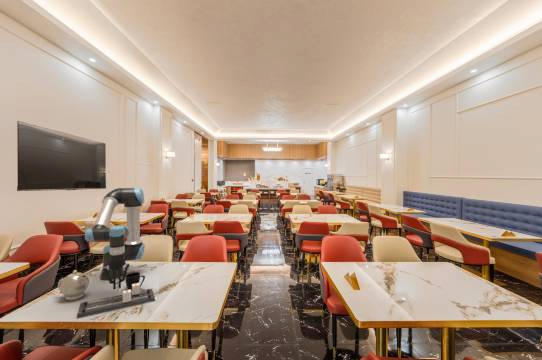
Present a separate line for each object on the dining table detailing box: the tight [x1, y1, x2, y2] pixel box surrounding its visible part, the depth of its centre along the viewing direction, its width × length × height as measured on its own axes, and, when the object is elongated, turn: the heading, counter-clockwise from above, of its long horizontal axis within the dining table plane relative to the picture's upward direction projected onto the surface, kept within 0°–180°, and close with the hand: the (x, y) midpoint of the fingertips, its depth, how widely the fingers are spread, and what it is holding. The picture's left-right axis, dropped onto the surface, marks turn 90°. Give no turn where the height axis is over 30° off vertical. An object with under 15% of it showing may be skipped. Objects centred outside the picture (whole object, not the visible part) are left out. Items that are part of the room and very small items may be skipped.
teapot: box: [57, 269, 90, 301], centre depth 150 cm, size 18×14×16 cm
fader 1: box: [122, 289, 132, 303], centre depth 140 cm, size 4×4×5 cm
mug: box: [124, 271, 146, 292], centre depth 161 cm, size 8×12×10 cm
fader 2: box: [131, 282, 141, 295], centre depth 150 cm, size 4×4×5 cm
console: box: [76, 288, 156, 319], centre depth 142 cm, size 14×36×3 cm, turn 121°
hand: (117, 294), depth 145 cm, fingers closed
